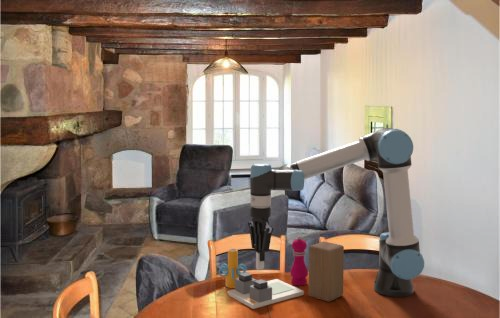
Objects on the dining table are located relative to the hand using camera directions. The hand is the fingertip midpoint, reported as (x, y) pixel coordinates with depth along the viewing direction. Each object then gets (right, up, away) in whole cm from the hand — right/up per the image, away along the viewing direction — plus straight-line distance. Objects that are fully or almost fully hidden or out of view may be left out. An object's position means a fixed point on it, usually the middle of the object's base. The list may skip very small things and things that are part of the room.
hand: (259, 268), depth 189 cm
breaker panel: (+2, -12, +9) cm, 15 cm away
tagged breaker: (0, -9, +1) cm, 9 cm away
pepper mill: (+17, -11, +22) cm, 29 cm away
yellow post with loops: (-11, -11, +19) cm, 24 cm away
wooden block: (+25, -12, +7) cm, 29 cm away
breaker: (-5, -8, +9) cm, 14 cm away
